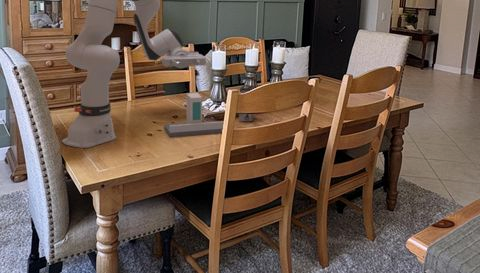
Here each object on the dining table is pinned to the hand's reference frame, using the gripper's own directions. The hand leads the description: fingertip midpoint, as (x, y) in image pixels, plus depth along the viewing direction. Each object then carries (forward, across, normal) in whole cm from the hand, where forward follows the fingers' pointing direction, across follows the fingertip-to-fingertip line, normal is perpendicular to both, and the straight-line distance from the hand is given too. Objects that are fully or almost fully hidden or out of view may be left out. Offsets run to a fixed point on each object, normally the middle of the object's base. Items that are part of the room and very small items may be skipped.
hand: (187, 64), depth 224 cm
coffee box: (+2, +29, +28) cm, 40 cm away
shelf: (+12, 0, +28) cm, 30 cm away
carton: (+12, 0, +26) cm, 28 cm away
